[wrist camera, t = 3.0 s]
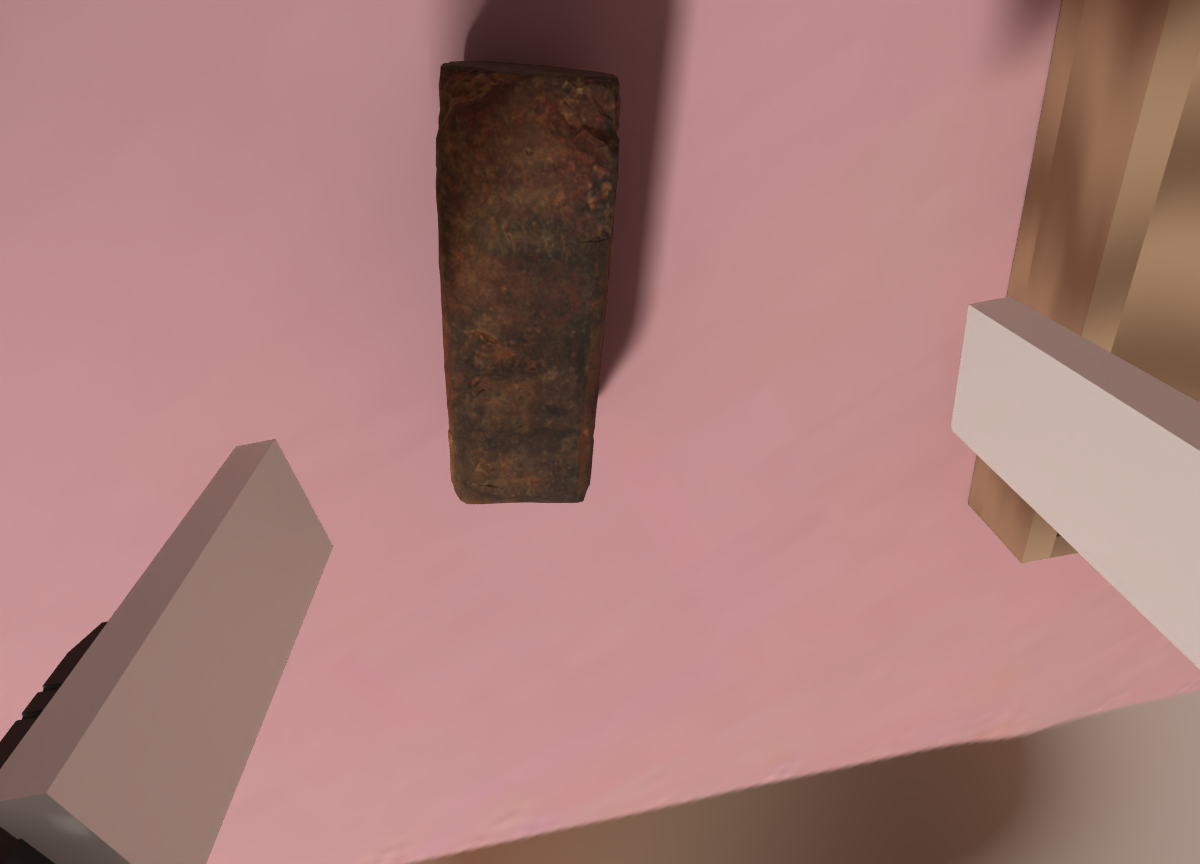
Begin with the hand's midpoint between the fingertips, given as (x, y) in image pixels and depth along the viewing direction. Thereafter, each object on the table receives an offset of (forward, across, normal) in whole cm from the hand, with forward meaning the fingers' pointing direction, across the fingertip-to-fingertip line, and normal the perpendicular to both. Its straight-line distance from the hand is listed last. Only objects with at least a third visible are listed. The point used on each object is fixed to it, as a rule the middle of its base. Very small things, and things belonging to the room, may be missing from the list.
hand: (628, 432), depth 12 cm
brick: (+8, -2, +1) cm, 9 cm away
